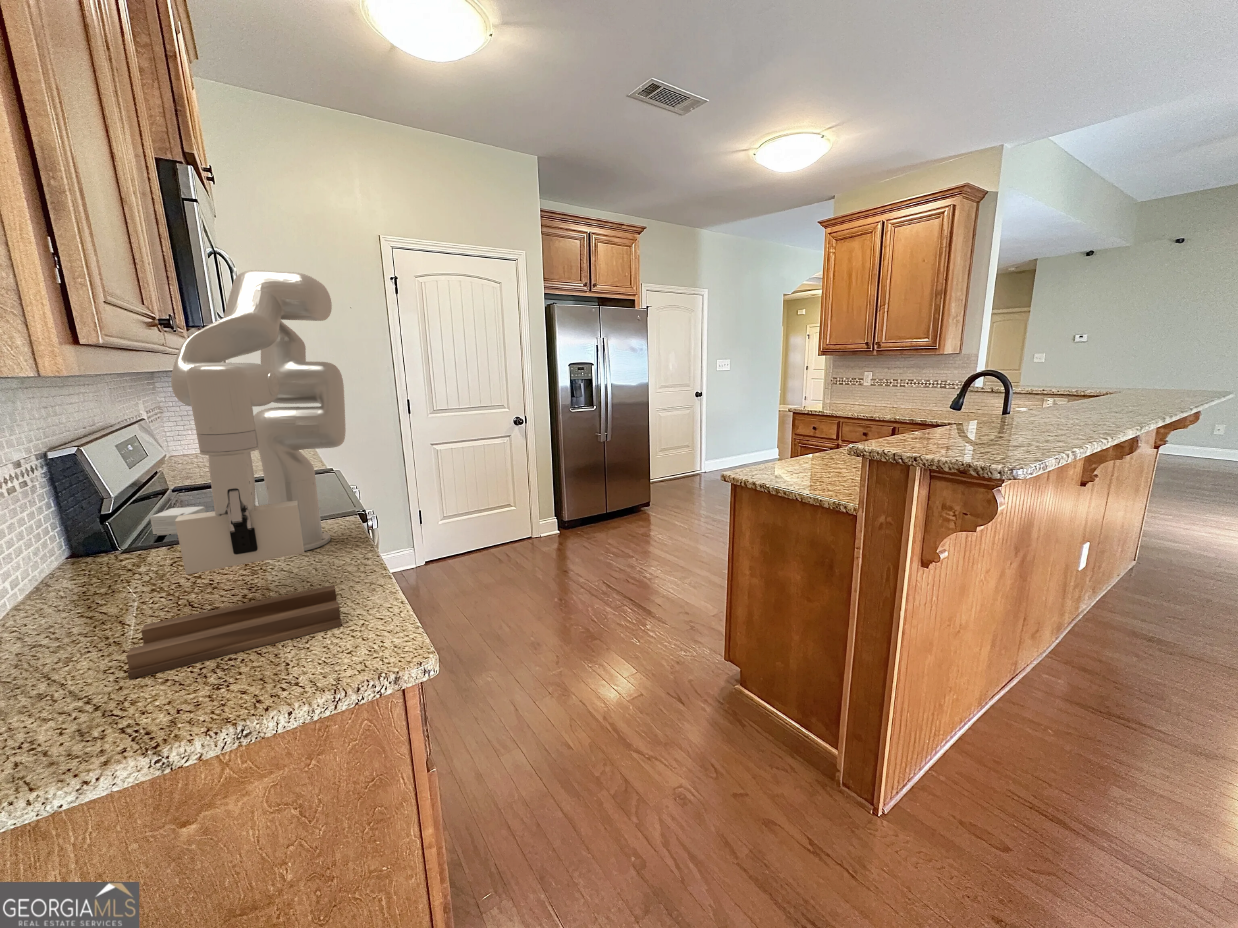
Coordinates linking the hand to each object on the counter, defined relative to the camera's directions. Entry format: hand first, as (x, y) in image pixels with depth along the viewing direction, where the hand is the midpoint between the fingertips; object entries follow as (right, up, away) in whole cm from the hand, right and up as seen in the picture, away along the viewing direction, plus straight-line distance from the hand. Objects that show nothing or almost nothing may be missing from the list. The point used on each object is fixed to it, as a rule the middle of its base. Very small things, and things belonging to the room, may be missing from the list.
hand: (246, 547), depth 82 cm
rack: (+7, -11, -9) cm, 16 cm away
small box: (-48, -3, +41) cm, 63 cm away
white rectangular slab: (0, -2, 0) cm, 2 cm away
